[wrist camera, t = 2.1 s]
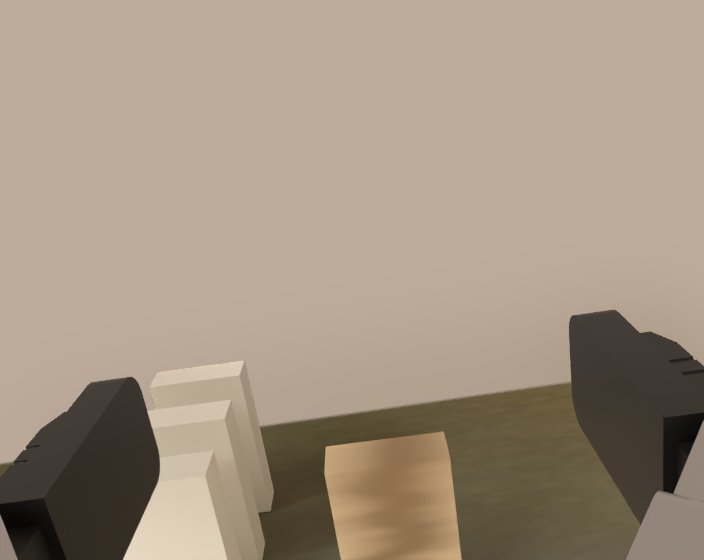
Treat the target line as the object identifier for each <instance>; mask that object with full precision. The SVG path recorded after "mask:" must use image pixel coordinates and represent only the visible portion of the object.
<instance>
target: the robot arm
mask: <svg viewBox="0 0 704 560" xmlns="http://www.w3.org/2000/svg"><path fill="white" fill-rule="evenodd" d="M569 341H570V361H571V382H572V398H573V404H574V409H575V413H576V416H577V419H578V422H579V425H580V427H581V429H582V430H583V432H584V434H585V435H586V437H587V439H588V440H589V442H590V443H591V445H592V447H593V448H594V450H595V451H596V453H597V455H598V456H599V458H600V460H601V461H602V463H603V464H604V466H605V468H606V469H607V471H608V473H609V474H610V476H611V477H612V479H613V481H614V482H615V484H616V486H617V487H618V489H619V490H620V492H621V494H622V495H623V497H624V499H625V500H626V502H627V503H628V505H629V507H630V508H631V510H632V512H633V513H634V515H635V516H636V518H637V520H638V521H639V523H640V525H641V526H640V528H639V531H638V533H637V535H636V537H635V540H634V542H633V544H632V546H631V549H630V551H629V553H628V555H627V558H626V560H704V366H703V365H702V364H701V363H699V362H698V361H697V360H694V359H693V356H691V355H690V354H689V353H688V352H687V351H686V350H685V349H683V348H682V347H681V346H680V345H679V344H678V343H677V342H674V341H672V340H670V339H667V338H665V337H662V336H660V335H657V334H655V333H653V332H645V333H639V332H638V331H637V330H636V329H635V328H634V327H633V326H632V325H631V324H630V323H629V322H628V321H627V320H626V319H625V318H624V317H623V316H622V315H621V314H620V313H619V312H617V311H616V310H608V311H602V312H594V313H587V314H580V315H574V316H572V317H571V318H570V322H569ZM159 474H160V456H159V450H158V446H157V443H156V439H155V436H154V433H153V429H152V426H151V422H150V419H149V416H148V412H147V409H146V405H145V402H144V399H143V395H142V392H141V389H140V386H139V384H138V382H137V381H136V380H135V379H134V378H133V377H127V378H120V379H112V380H106V381H98V382H92V383H90V384H89V385H88V386H87V387H86V388H85V390H84V391H83V392H82V393H81V395H80V396H79V397H78V398H77V400H76V401H75V402H74V403H73V405H72V406H71V407H70V408H69V410H68V411H67V412H64V413H63V414H61V415H60V416H58V417H57V418H56V419H54V420H53V421H51V422H50V423H49V424H47V425H46V426H44V427H43V428H42V429H40V431H39V432H38V433H37V434H36V435H35V437H34V438H33V439H32V440H31V441H30V443H29V444H28V445H27V446H26V450H23V451H22V452H21V454H20V455H19V456H18V457H17V459H16V460H15V461H14V465H12V466H10V467H9V468H8V469H7V470H6V472H5V473H4V474H3V475H2V476H1V478H0V560H123V559H124V556H125V554H126V552H127V550H128V547H129V545H130V543H131V541H132V539H133V536H134V534H135V532H136V530H137V528H138V525H139V523H140V521H141V519H142V516H143V514H144V512H145V510H146V508H147V505H148V503H149V501H150V499H151V496H152V494H153V492H154V490H155V488H156V485H157V483H158V479H159Z"/></svg>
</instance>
